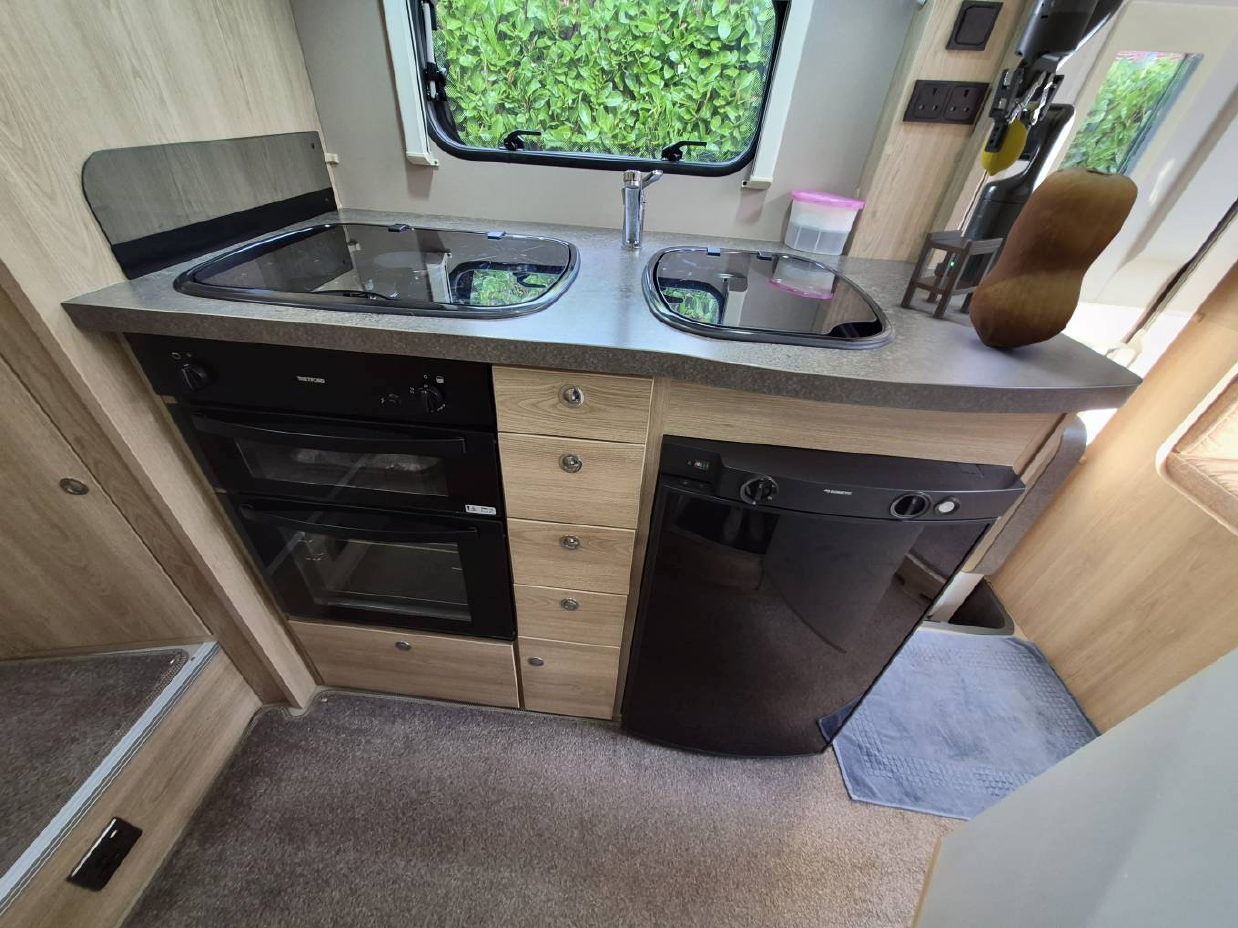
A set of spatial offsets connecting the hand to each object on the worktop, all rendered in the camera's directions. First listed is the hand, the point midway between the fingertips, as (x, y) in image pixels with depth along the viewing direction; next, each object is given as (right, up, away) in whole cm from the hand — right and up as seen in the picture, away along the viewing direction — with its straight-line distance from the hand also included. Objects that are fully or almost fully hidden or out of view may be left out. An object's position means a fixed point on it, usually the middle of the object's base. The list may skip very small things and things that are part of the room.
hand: (1001, 152), depth 80 cm
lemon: (0, -3, +2) cm, 4 cm away
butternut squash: (0, -31, +1) cm, 31 cm away
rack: (-1, -21, +15) cm, 26 cm away
